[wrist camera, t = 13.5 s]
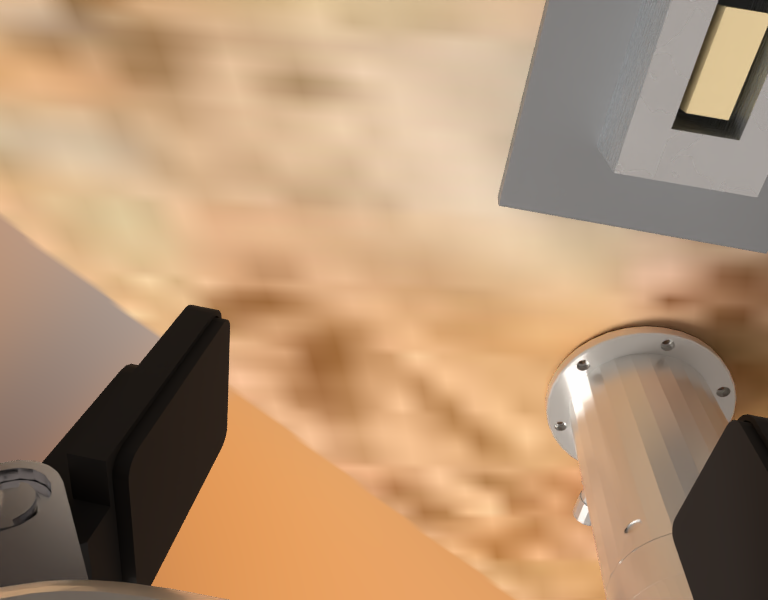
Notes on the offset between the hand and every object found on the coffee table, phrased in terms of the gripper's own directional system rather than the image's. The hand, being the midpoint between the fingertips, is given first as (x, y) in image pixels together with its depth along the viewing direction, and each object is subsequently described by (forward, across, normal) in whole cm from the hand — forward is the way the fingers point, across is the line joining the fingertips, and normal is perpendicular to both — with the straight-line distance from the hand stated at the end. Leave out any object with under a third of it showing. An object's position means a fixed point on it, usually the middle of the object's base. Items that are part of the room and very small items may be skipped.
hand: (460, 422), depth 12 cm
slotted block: (+27, -11, -5) cm, 29 cm away
